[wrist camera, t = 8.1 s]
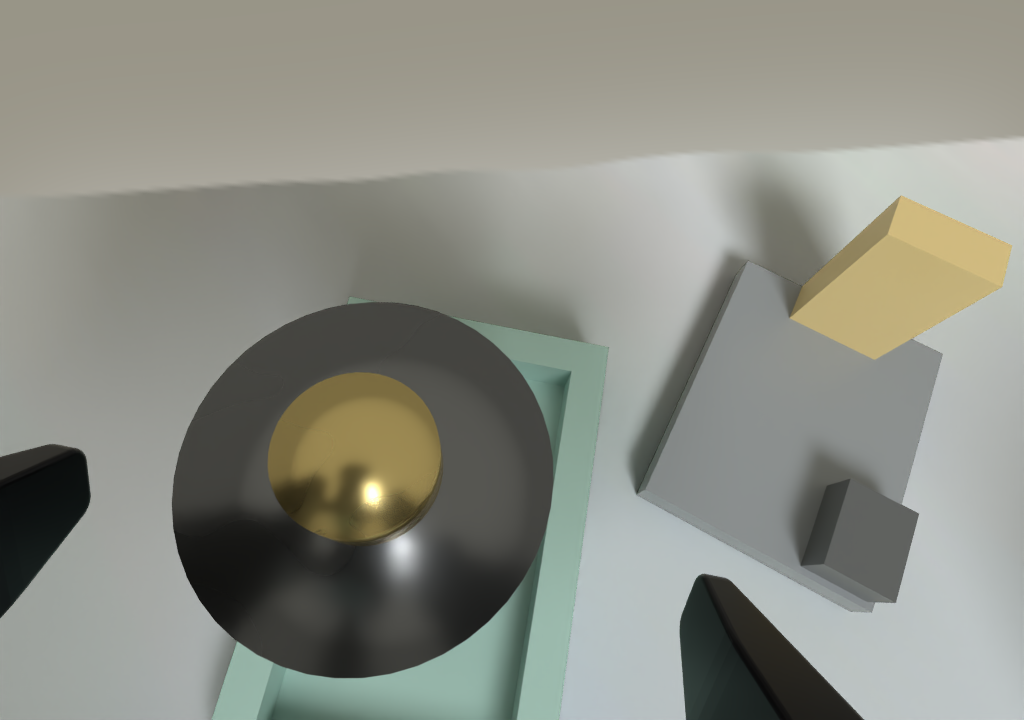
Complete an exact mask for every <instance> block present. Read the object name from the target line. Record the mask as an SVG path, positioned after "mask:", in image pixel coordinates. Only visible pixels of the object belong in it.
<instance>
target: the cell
mask: <svg viewBox="0 0 1024 720" xmlns="http://www.w3.org/2000/svg"><path fill="white" fill-rule="evenodd" d="M553 483H554V482H553V456H552V450H551V443H550V437H549V433H548V430H547V426H546V423H545V420H544V416H543V413H542V411H541V409H540V406H539V404H538V402H537V400H536V397H535V395H534V393H533V391H532V390H531V388H530V387H529V385H528V383H527V382H526V380H525V378H524V377H523V375H522V374H521V373H520V371H519V370H518V369H517V368H516V366H515V365H514V364H513V363H512V361H511V360H510V359H509V358H508V357H507V356H506V355H505V354H504V353H503V352H502V351H501V350H500V349H499V348H498V347H497V346H496V345H495V344H494V343H492V342H491V341H490V340H488V339H487V338H486V337H484V336H483V335H482V334H480V333H479V332H478V331H476V330H475V329H473V328H471V327H469V326H467V325H466V324H464V323H462V322H460V321H459V320H457V319H454V318H452V317H449V316H447V315H444V314H442V313H439V312H437V311H433V310H429V309H426V308H422V307H419V306H413V305H407V304H400V303H388V302H367V303H355V304H347V305H342V306H337V307H332V308H328V309H325V310H322V311H318V312H315V313H312V314H309V315H306V316H304V317H302V318H299V319H297V320H295V321H293V322H290V323H288V324H286V325H284V326H282V327H281V328H279V329H277V330H276V331H274V332H272V333H270V334H269V335H267V336H265V337H264V338H263V339H261V340H260V341H259V342H257V343H256V344H255V345H253V346H252V347H251V348H249V349H248V350H247V351H245V352H244V353H243V354H242V355H241V356H240V357H239V358H238V359H237V360H236V361H235V362H234V363H233V364H232V365H230V366H229V367H228V368H227V370H226V371H225V372H224V373H223V374H222V376H221V377H220V378H219V379H218V380H217V382H216V383H215V384H214V385H213V386H212V388H211V389H210V391H209V392H208V394H207V395H206V397H205V398H204V400H203V401H202V403H201V404H200V406H199V408H198V410H197V412H196V414H195V416H194V418H193V420H192V422H191V424H190V426H189V428H188V430H187V433H186V435H185V438H184V441H183V444H182V447H181V450H180V452H179V457H178V461H177V466H176V471H175V475H174V484H173V496H172V513H173V529H174V534H175V539H176V544H177V549H178V553H179V556H180V559H181V562H182V565H183V567H184V570H185V573H186V576H187V578H188V580H189V582H190V584H191V586H192V587H193V589H194V591H195V593H196V595H197V597H198V598H199V600H200V602H201V603H202V604H203V606H204V607H205V608H206V609H207V611H208V612H209V613H210V615H211V616H212V617H213V619H214V620H215V621H216V622H217V623H218V624H219V625H220V626H221V627H222V628H223V629H224V630H225V631H226V632H227V633H228V634H229V635H230V636H232V637H233V638H234V639H235V640H236V641H238V642H239V643H240V644H242V645H243V646H245V647H246V648H248V649H249V650H251V651H252V652H254V653H255V654H256V655H258V656H260V657H263V658H265V659H267V660H269V661H271V662H273V663H275V664H277V665H279V666H281V667H285V668H288V669H291V670H295V671H298V672H301V673H305V674H308V675H315V676H322V677H329V678H367V677H374V676H380V675H387V674H392V673H396V672H399V671H402V670H406V669H409V668H412V667H416V666H419V665H421V664H423V663H425V662H428V661H430V660H432V659H434V658H436V657H439V656H441V655H443V654H445V653H446V652H448V651H450V650H451V649H453V648H454V647H456V646H457V645H459V644H461V643H462V642H464V641H465V640H467V639H468V638H470V637H471V636H472V635H473V634H474V633H476V632H477V631H478V630H479V629H480V628H482V627H483V626H484V625H485V624H486V623H488V622H489V621H490V620H491V619H492V618H493V617H494V616H495V614H496V613H497V612H498V611H499V610H500V609H501V608H502V607H503V606H504V605H505V604H506V603H507V602H508V600H509V599H510V597H511V596H512V595H513V593H514V592H515V590H516V589H517V588H518V586H519V585H520V583H521V582H522V581H523V579H524V577H525V575H526V574H527V572H528V570H529V568H530V566H531V564H532V562H533V561H534V559H535V557H536V554H537V552H538V549H539V547H540V544H541V541H542V539H543V536H544V533H545V530H546V526H547V522H548V518H549V513H550V509H551V502H552V493H553Z"/></svg>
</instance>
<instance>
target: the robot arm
mask: <svg viewBox="0 0 1024 720" xmlns="http://www.w3.org/2000/svg"><path fill="white" fill-rule="evenodd" d="M90 498H91V493H90V485H89V477H88V468H87V460H86V456H85V454H84V453H83V452H82V451H81V450H79V449H77V448H72V447H67V446H62V445H56V444H49V445H45V446H41V447H37V448H33V449H29V450H25V451H22V452H18V453H14V454H10V455H6V456H2V457H0V618H1V617H2V616H3V615H4V614H5V613H6V611H7V610H8V609H9V608H10V607H11V606H12V605H13V604H14V602H15V601H16V600H17V599H18V597H19V596H20V595H21V594H22V593H23V591H24V590H25V589H26V588H27V586H28V585H29V584H30V583H31V581H32V580H33V579H34V578H35V576H36V575H37V574H38V572H39V571H40V570H41V569H42V567H43V566H44V565H45V564H46V562H47V561H48V560H49V558H50V557H51V556H52V555H53V553H54V552H55V551H56V549H57V548H58V547H59V546H60V544H61V543H62V542H63V541H64V539H65V538H66V537H67V535H68V534H69V533H70V532H71V530H72V529H73V528H74V527H75V525H76V524H77V523H78V521H79V520H80V519H81V518H82V516H83V515H84V514H85V512H86V510H87V508H88V506H89V503H90ZM680 645H681V658H682V672H683V685H684V698H685V712H686V720H864V719H863V718H862V717H861V716H860V715H859V714H858V713H857V712H856V711H855V710H854V709H853V708H852V707H851V706H850V705H849V704H848V702H847V701H846V700H845V699H844V698H843V697H842V696H841V695H840V694H839V693H838V692H837V691H836V690H835V689H834V688H833V687H832V686H831V685H830V684H829V683H828V682H827V681H826V680H825V679H824V677H823V676H822V675H821V674H820V673H819V672H818V671H817V670H816V669H815V668H814V667H813V666H812V665H811V664H810V663H809V662H808V661H807V660H806V659H805V658H804V657H803V656H802V655H801V653H800V652H799V651H798V650H797V649H796V648H795V647H794V646H793V645H792V644H791V643H790V642H789V641H788V640H787V639H786V638H785V637H784V636H783V635H782V634H781V633H780V632H779V631H778V630H777V628H776V627H775V626H774V625H773V624H772V623H771V622H770V621H769V620H768V619H767V618H766V617H765V616H764V615H763V614H762V613H761V612H760V611H759V610H758V609H757V608H756V607H755V606H754V605H753V603H752V602H751V601H750V600H749V599H748V598H747V597H746V596H745V595H744V594H743V593H742V592H741V591H740V590H739V589H738V588H737V587H736V586H735V585H734V584H733V583H732V582H731V581H730V580H728V579H726V578H723V577H718V576H713V575H708V574H701V575H699V576H698V577H697V578H696V580H695V582H694V585H693V587H692V590H691V592H690V595H689V597H688V600H687V603H686V605H685V608H684V610H683V613H682V616H681V620H680Z"/></svg>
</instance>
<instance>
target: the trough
mask: <svg viewBox="0 0 1024 720" xmlns="http://www.w3.org/2000/svg"><path fill="white" fill-rule="evenodd" d="M367 302H375V301H370V300H365V299H360V298H355V297H349V300H348V303H347V304H355V303H367ZM449 317H452V316H449ZM452 318H454V319H457V320H459V321H460V322H462V323H464V324H466V325H467V326H469V327H471V328H473V329H475V330H476V331H478V332H479V333H480V334H482V335H483V336H484V337H486V338H487V339H488V340H490V341H491V342H492V343H494V344H495V345H496V346H497V347H498V348H499V349H500V350H501V351H502V352H503V353H504V354H505V355H506V356H507V357H508V358H509V359H510V360H511V361H512V363H513V364H514V365H515V366H516V368H517V369H518V370H519V371H520V373H521V374H522V375H523V377H524V378H525V380H526V382H527V383H528V385H529V387H530V388H531V390H532V391H533V393H534V395H535V397H536V400H537V402H538V404H539V406H540V409H541V411H542V413H543V416H544V420H545V423H546V426H547V430H548V433H549V437H550V443H551V450H552V456H553V482H554V483H553V493H552V502H551V509H550V513H549V518H548V522H547V526H546V530H545V533H544V536H543V539H542V541H541V544H540V547H539V549H538V552H537V554H536V557H535V559H534V561H533V562H532V564H531V566H530V568H529V570H528V572H527V574H526V575H525V577H524V579H523V581H522V582H521V583H520V585H519V586H518V588H517V589H516V590H515V592H514V593H513V595H512V596H511V597H510V599H509V600H508V602H507V603H506V604H505V605H504V606H503V607H502V608H501V609H500V610H499V611H498V612H497V613H496V614H495V616H494V617H493V618H492V619H491V620H490V621H489V622H488V623H486V624H485V625H484V626H483V627H482V628H480V629H479V630H478V631H477V632H476V633H474V634H473V635H472V636H471V637H470V638H468V639H467V640H465V641H464V642H462V643H461V644H459V645H457V646H456V647H454V648H453V649H451V650H450V651H448V652H446V653H445V654H443V655H441V656H439V657H436V658H434V659H432V660H430V661H428V662H425V663H423V664H421V665H419V666H416V667H412V668H409V669H406V670H402V671H399V672H396V673H392V674H387V675H380V676H374V677H367V678H329V677H322V676H315V675H308V674H305V673H301V672H298V671H295V670H291V669H288V668H285V667H281V666H279V665H277V664H275V663H273V662H271V661H269V660H267V659H265V658H263V657H260V656H258V655H256V654H255V653H254V652H252V651H251V650H249V649H248V648H246V647H245V646H243V645H242V644H240V643H239V642H238V641H237V643H236V646H235V649H234V652H233V655H232V659H231V662H230V665H229V668H228V671H227V674H226V677H225V680H224V683H223V686H222V689H221V692H220V695H219V698H218V701H217V705H216V708H215V711H214V714H213V717H212V720H559V716H560V709H561V701H562V694H563V686H564V679H565V671H566V664H567V656H568V649H569V641H570V634H571V626H572V619H573V611H574V604H575V596H576V589H577V581H578V574H579V566H580V559H581V551H582V544H583V536H584V529H585V521H586V514H587V507H588V499H589V492H590V484H591V477H592V469H593V462H594V454H595V447H596V439H597V432H598V424H599V417H600V409H601V402H602V394H603V387H604V379H605V372H606V364H607V357H608V349H609V347H605V346H600V345H594V344H589V343H584V342H579V341H574V340H569V339H564V338H559V337H554V336H549V335H544V334H538V333H533V332H528V331H523V330H518V329H513V328H508V327H503V326H498V325H493V324H488V323H482V322H477V321H472V320H467V319H462V318H457V317H452Z"/></svg>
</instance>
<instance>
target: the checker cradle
mask: <svg viewBox="0 0 1024 720" xmlns="http://www.w3.org/2000/svg"><path fill="white" fill-rule="evenodd" d="M1011 248H1012V245H1010V244H1008V243H1005V242H1003V241H1001V240H999V239H996V238H994V237H992V236H990V235H988V234H985V233H983V232H981V231H979V230H977V229H974V228H972V227H970V226H968V225H965V224H963V223H961V222H959V221H957V220H954V219H952V218H950V217H948V216H945V215H943V214H941V213H939V212H937V211H934V210H932V209H930V208H928V207H925V206H923V205H921V204H919V203H917V202H914V201H912V200H910V199H908V198H906V197H903V196H900V197H899V198H898V199H897V200H895V201H894V202H893V203H892V204H891V205H890V206H889V207H888V208H887V209H886V210H885V211H884V212H882V213H881V214H880V215H879V216H878V217H877V218H876V219H875V220H874V221H873V222H872V223H870V224H869V225H868V226H867V227H866V228H865V229H864V230H863V231H862V232H861V233H860V234H859V235H857V236H856V237H855V238H854V239H853V240H852V241H851V242H850V243H849V244H848V245H847V246H845V247H844V248H843V249H842V250H841V251H840V252H839V253H838V254H837V255H836V256H835V257H834V258H832V259H831V260H830V261H829V262H828V263H827V264H826V265H825V266H824V267H823V268H822V269H820V270H819V271H818V272H817V273H816V274H815V275H814V276H813V277H812V278H811V279H810V280H809V281H807V282H806V283H805V284H804V285H803V286H800V285H798V284H796V283H794V282H792V281H790V280H788V279H786V278H784V277H782V276H779V275H777V274H775V273H773V272H771V271H769V270H767V269H765V268H763V267H761V266H759V265H757V264H754V263H752V262H750V261H747V263H746V264H745V265H744V266H743V267H742V268H741V270H740V271H739V272H738V273H737V274H736V276H735V278H734V281H733V283H732V285H731V287H730V290H729V292H728V294H727V296H726V298H725V301H724V303H723V305H722V307H721V309H720V312H719V314H718V316H717V318H716V320H715V323H714V325H713V327H712V329H711V331H710V334H709V336H708V338H707V340H706V342H705V345H704V347H703V349H702V351H701V354H700V356H699V358H698V360H697V362H696V365H695V367H694V369H693V371H692V373H691V376H690V378H689V380H688V382H687V384H686V387H685V389H684V391H683V393H682V395H681V398H680V400H679V402H678V404H677V406H676V409H675V411H674V413H673V415H672V418H671V420H670V422H669V424H668V426H667V429H666V431H665V433H664V435H663V437H662V440H661V442H660V444H659V446H658V448H657V451H656V453H655V455H654V457H653V459H652V462H651V464H650V466H649V468H648V470H647V473H646V475H645V477H644V479H643V482H642V484H641V486H640V488H639V490H638V493H637V495H638V496H640V497H642V498H644V499H645V500H647V501H649V502H651V503H653V504H655V505H656V506H658V507H660V508H662V509H664V510H666V511H667V512H669V513H671V514H673V515H675V516H677V517H678V518H680V519H682V520H684V521H686V522H688V523H689V524H691V525H693V526H695V527H697V528H699V529H700V530H702V531H704V532H706V533H708V534H710V535H711V536H713V537H715V538H717V539H719V540H721V541H722V542H724V543H726V544H728V545H730V546H732V547H733V548H735V549H737V550H739V551H741V552H743V553H744V554H746V555H748V556H750V557H752V558H754V559H755V560H757V561H759V562H761V563H763V564H765V565H766V566H768V567H770V568H772V569H774V570H776V571H777V572H779V573H781V574H783V575H785V576H787V577H788V578H790V579H792V580H794V581H796V582H798V583H799V584H801V585H803V586H805V587H807V588H809V589H810V590H812V591H814V592H816V593H818V594H820V595H821V596H823V597H825V598H827V599H829V600H830V601H832V602H834V603H836V604H838V605H840V606H841V607H843V608H845V609H847V610H849V611H851V612H871V613H872V611H873V607H874V604H875V602H883V603H896V600H897V596H898V592H899V588H900V585H901V581H902V577H903V573H904V569H905V565H906V562H907V558H908V554H909V550H910V546H911V542H912V538H913V535H914V531H915V527H916V523H917V519H918V515H919V514H918V513H916V512H915V511H913V510H911V509H909V508H907V507H905V506H903V505H902V501H903V497H904V494H905V490H906V487H907V483H908V479H909V476H910V472H911V468H912V465H913V461H914V457H915V454H916V450H917V446H918V443H919V439H920V435H921V432H922V428H923V424H924V421H925V417H926V413H927V410H928V406H929V402H930V399H931V395H932V391H933V388H934V384H935V380H936V377H937V373H938V369H939V366H940V362H941V359H942V355H943V354H942V353H940V352H938V351H936V350H933V349H931V348H929V347H927V346H925V345H923V344H921V343H919V342H917V341H915V340H913V339H912V338H914V337H916V336H917V335H919V334H921V333H923V332H924V331H926V330H928V329H930V328H931V327H933V326H935V325H937V324H938V323H940V322H942V321H943V320H945V319H947V318H949V317H950V316H952V315H954V314H956V313H957V312H959V311H961V310H963V309H964V308H966V307H968V306H970V305H971V304H973V303H975V302H977V301H978V300H980V299H982V298H984V297H985V296H987V295H989V294H991V293H992V292H994V291H996V290H998V289H999V288H1001V287H1002V285H1003V281H1004V277H1005V273H1006V269H1007V265H1008V260H1009V256H1010V252H1011Z"/></svg>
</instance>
